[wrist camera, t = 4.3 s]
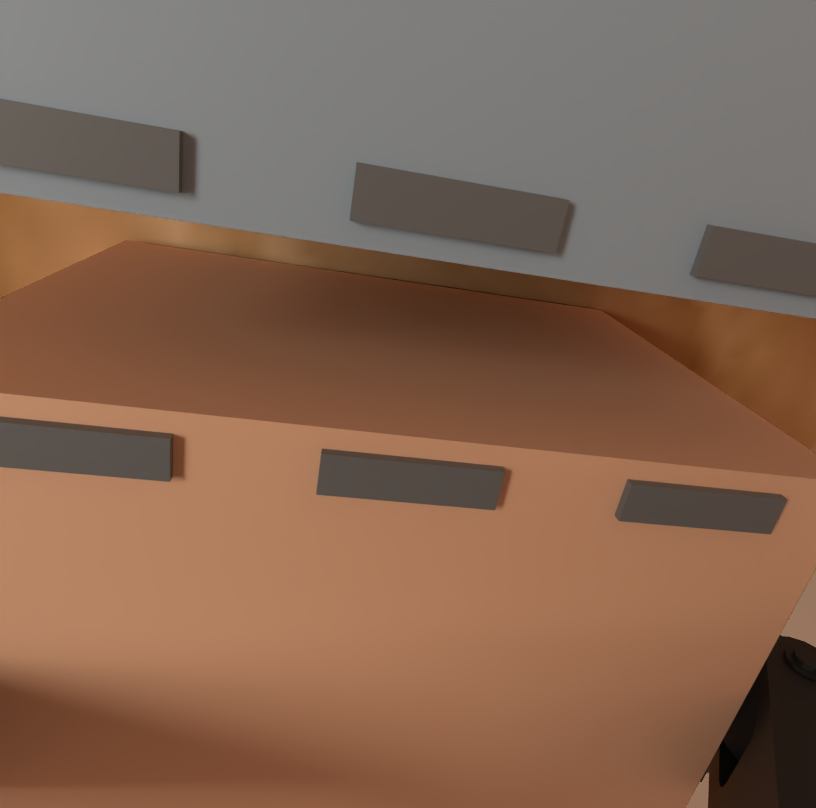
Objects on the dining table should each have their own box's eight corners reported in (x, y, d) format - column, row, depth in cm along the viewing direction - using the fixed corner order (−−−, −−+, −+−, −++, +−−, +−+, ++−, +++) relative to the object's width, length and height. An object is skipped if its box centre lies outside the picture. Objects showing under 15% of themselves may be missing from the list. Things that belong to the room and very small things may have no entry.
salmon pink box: (125, 239, 13) (-178, 380, 5) (601, 309, 14) (870, 489, 7) (132, 542, 16) (-54, 895, 8) (522, 570, 18) (651, 883, 10)
